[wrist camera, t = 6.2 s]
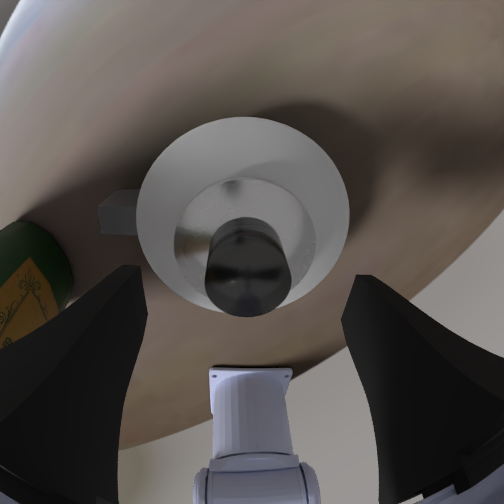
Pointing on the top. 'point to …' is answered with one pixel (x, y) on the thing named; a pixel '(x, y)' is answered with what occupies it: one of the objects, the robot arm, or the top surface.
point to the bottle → (30, 280)
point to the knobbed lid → (245, 244)
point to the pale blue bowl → (222, 167)
